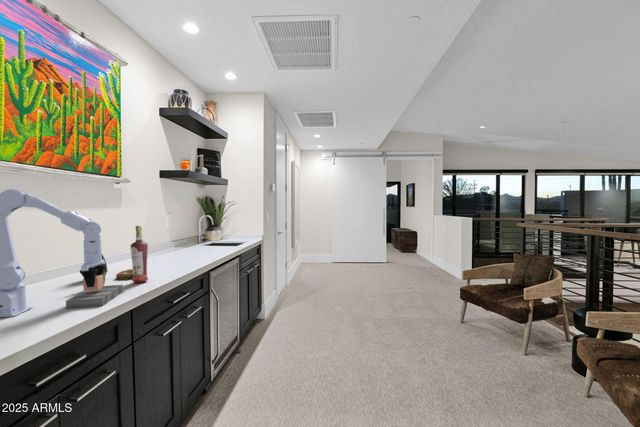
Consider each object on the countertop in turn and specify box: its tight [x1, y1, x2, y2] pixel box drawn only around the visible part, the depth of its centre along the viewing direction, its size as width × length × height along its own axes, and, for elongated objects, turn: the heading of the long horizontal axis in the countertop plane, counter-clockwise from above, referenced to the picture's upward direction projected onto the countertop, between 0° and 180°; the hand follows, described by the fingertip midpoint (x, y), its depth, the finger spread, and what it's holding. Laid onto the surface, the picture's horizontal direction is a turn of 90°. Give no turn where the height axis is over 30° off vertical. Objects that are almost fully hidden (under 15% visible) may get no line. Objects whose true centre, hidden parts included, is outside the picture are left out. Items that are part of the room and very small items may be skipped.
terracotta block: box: [82, 275, 105, 291], centre depth 124 cm, size 5×5×5 cm
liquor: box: [130, 225, 149, 284], centre depth 151 cm, size 7×7×28 cm
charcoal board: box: [65, 284, 124, 310], centre depth 124 cm, size 20×12×3 cm, turn 14°
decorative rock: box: [115, 268, 133, 281], centre depth 164 cm, size 11×4×15 cm
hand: (94, 285), depth 124 cm, fingers closed on terracotta block, 5 cm apart
